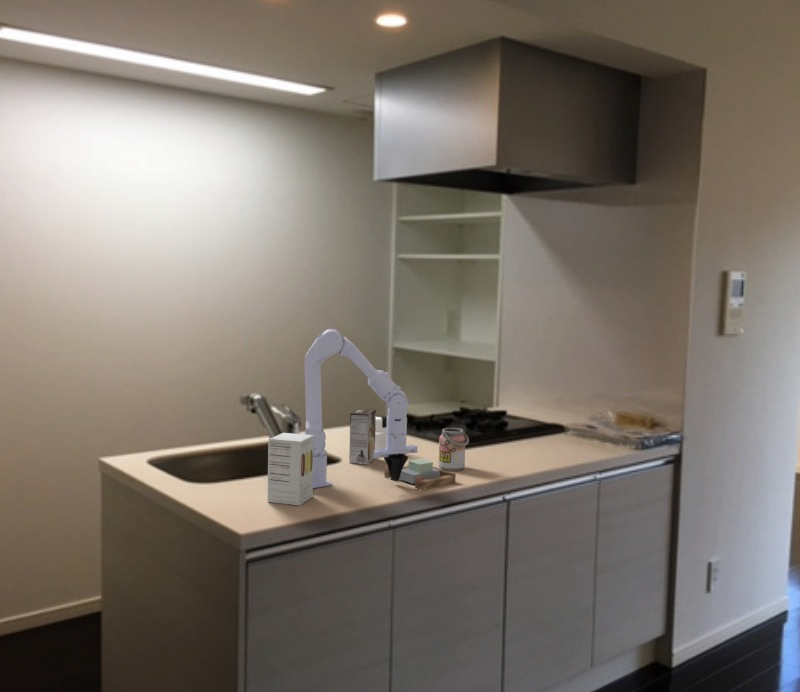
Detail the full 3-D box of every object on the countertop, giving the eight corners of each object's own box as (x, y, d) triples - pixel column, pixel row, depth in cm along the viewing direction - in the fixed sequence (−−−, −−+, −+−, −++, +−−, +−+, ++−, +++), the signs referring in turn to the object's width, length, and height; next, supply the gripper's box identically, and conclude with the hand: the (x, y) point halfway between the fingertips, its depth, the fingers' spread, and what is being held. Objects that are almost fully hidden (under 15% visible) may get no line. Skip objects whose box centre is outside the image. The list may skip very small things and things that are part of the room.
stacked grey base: (413, 485, 227) (413, 466, 227) (397, 480, 233) (398, 461, 232) (439, 480, 234) (440, 462, 233) (424, 475, 239) (424, 457, 238)
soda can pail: (472, 469, 248) (474, 431, 246) (453, 473, 242) (455, 434, 241) (451, 463, 254) (453, 426, 253) (432, 467, 249) (433, 429, 248)
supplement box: (299, 506, 205) (300, 441, 203) (266, 502, 207) (267, 438, 205) (313, 496, 214) (314, 434, 212) (281, 492, 216) (282, 431, 215)
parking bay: (419, 490, 223) (420, 477, 222) (384, 477, 235) (384, 465, 235) (456, 482, 232) (456, 470, 231) (420, 470, 244) (421, 459, 244)
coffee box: (356, 456, 260) (357, 407, 258) (375, 458, 259) (376, 409, 257) (348, 463, 251) (349, 412, 249) (368, 464, 250) (369, 414, 248)
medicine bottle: (377, 448, 273) (378, 413, 271) (393, 451, 268) (394, 416, 267) (363, 451, 267) (364, 416, 266) (379, 455, 263) (380, 419, 261)
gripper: (384, 438, 218) (383, 487, 220) (425, 433, 228) (423, 479, 229) (369, 433, 224) (368, 481, 225) (409, 428, 233) (407, 474, 234)
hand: (394, 480), depth 227 cm, fingers closed
